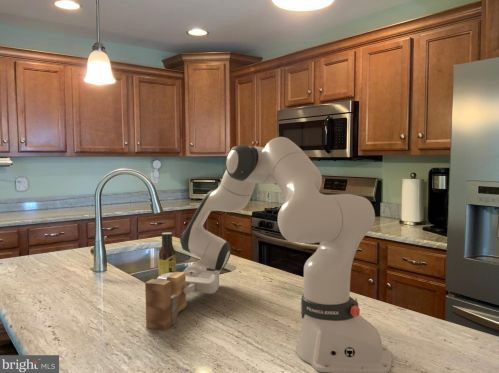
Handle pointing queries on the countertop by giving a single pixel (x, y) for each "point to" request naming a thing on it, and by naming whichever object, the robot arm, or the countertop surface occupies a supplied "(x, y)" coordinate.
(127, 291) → the countertop surface
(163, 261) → the sauce bottle
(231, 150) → the robot arm
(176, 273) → the light brown wooden block
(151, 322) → the hinge post
